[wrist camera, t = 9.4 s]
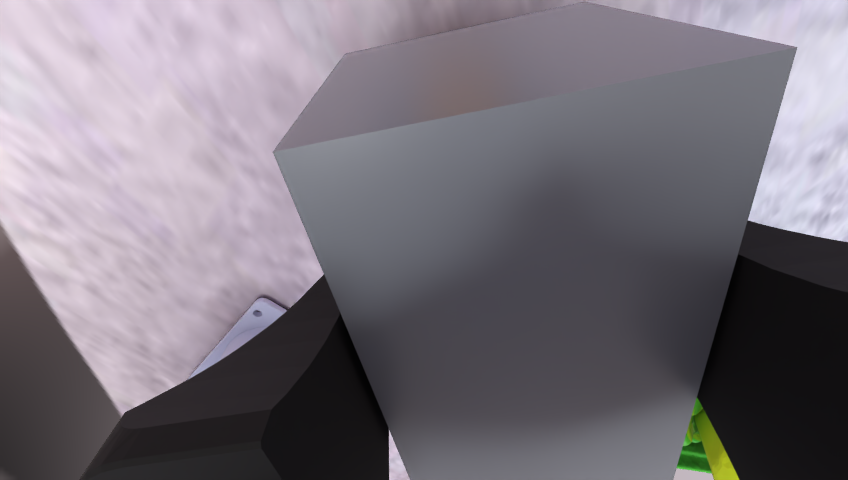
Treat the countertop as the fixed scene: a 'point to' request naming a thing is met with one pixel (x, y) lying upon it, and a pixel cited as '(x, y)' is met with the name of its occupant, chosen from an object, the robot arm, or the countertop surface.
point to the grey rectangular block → (537, 231)
